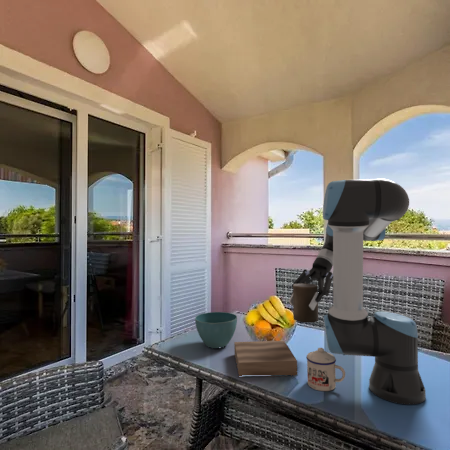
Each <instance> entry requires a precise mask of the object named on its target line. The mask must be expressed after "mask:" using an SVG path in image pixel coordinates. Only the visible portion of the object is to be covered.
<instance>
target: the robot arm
mask: <svg viewBox="0 0 450 450" xmlns="http://www.w3.org/2000/svg"><path fill="white" fill-rule="evenodd" d="M322 205H323V207H322V219H323V220H325V221H327V224H326V226H325V227H326V228H325V240H324V244H323V246H322V247H321V248H320V250H319V252H318V254H317V255H316V258H315V259H314V261H313V263H312V267H311V268H310V269H309V270H308V269H306V268H304V269H303V271H302V273H301V274H300V275H299V276H298V278H297V279H296V280H295V281H294V282H293V283H292V285H291V287H292V288H293V285H294V284H301V283H306V284H311V283H313V282H315V281H316V282H317V285H318V292H316V293H315V295H314V297H313V299H312V301H311V302H310V304H309V307H310V308H311V309H312V310H314V309H315V307H316V305H317V303H318V304H319V303H320V301H321V300H322V298H323V297H324V296H326V297H328V296H329V294H330V290H331V285H332V284H333V285H332V286H333V287H332V289H333V290H332V291H333V292H332V294H333V295H332V298H333V299H332V301H333V302H332V303H333V304H332V305H331V306H330V307H329V308H328V310H327V314H324V315H323V325H324V331H325V337H326V342H327V348H328V350H329V353H331V354H333V355H334V354H335V355H336V354H337V355H343V356H360V357H373V358H374V365H373V367H372V371H371V372H370V377H369V379H368V380H369V381H368V382H369V383H368V385H369V387H368V388H369V389H370V391H371V393H372V394H373V395H374V396H376V397H378V398H380V399H383V400H385V401H388V402H391V403H393V404H400V405H407V406H408V405H411V406H412V405H420V404H422V403H423V402H425V401H426V393H427V392H426V388H425V385H424V382H423V380H422V377H421V375H420V371H419V355H418V354H419V347H418V346H419V345H418V344H419V343H418V338H419V335H418V334H419V333H418V327H417V323H416V322H415V321H414V320H413V319H412V318H411V317H408V316H405V315H402V314H399V313H395V312H389V311H381V310H380V311H375V312H373V313H374V314H373V315H372V316H369V312H368V311H367V310H366V309H365V308H364V305H363V304H364V301H363V300H364V299H363V298H364V241H367V242H370V241H371V242H377V241H378V242H379V241H384V239H385V238H386V233H387V232H386V229H387V227H388V226H389V225H390V224H391V223H392V222H396V221H398V220H400V219H401V218H402V217H403V216H404V215H405V214H406V213H407V212H408V210H409V207H410V197H409V195H408V192H407V191H406V190H405V189H404V187H402V186H401V185H400V184H399V183H397V182H395V181H392V180H390V179H386V178H370V179H369V178H366V179H365V178H364V179H343V180H341V179H340V180H333V181H330V182H329V183H328V184H327V186H326V188H325V193H324V199H323V204H322ZM331 271H333V272H331ZM288 303H289V304H290V305H291V306H292V307H293V291H292V292H291V293H290V298H289V299H288Z"/></svg>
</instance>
